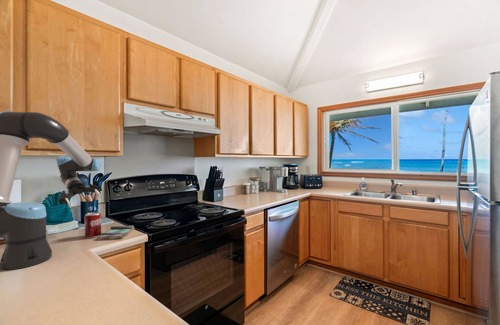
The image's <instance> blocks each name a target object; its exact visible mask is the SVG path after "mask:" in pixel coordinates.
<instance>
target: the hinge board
mask: <svg viewBox="0 0 500 325" xmlns="http://www.w3.org/2000/svg"><path fill="white" fill-rule="evenodd" d="M134 229H135V226H134V225H116V226H114V225H112V226H110V229H109V230H107V231H106V232H101V233H100V235H99V236H98V237H95V239H96V241H107V240H109V241H111V240H122V239H124V238H125V237H126V236H127V235H129V234H130V233H131V232H132V231H134Z"/></svg>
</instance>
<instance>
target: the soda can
mask: <svg viewBox="0 0 500 325" xmlns="http://www.w3.org/2000/svg"><path fill="white" fill-rule="evenodd" d="M100 233H102V213H101V212H89V213H86V214H84V237H85V238H86V239H94V238H95V239H96V238H97V237H98V236H99V235H100Z"/></svg>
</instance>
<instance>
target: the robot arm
mask: <svg viewBox="0 0 500 325" xmlns="http://www.w3.org/2000/svg"><path fill="white" fill-rule="evenodd" d="M30 139H43V140H46V141H47V142H48V143H50V144H54V145H55V146H56V147H57V148H59V150H61V151H62V152H63V153H64V154H65V155H68V156H62V155H59V156H58V157H57V158H56V163H57V164H56V165H57V168H58V170H59V171H58V172H59V173H60V179H61V182H62V183H63V184H64V186H65V187H66V189H67V191H65V190H62V191H61V194H60V196H59V198H57V201H58V204H59V205H61V204H64V205H65V206H67V205H68V208H71V209H72V204H71V203H72V202H70V200H71V199H72V198H73V197H75V196H76V195H79V194H82V193H95V194H96V196H97V197H98V198H99V199H100V198H102V196H101V194H102V193H101V192H102V191H103V188H102V186H100V185H96V184H92V183H88V184H87V185H84V184H83V182H82V181H81V179H80V178H79V177H78V174H77V172H98V171H100V170H101V168H102V161H101V160H100V159H98V158H92V156H91V155H90V154H88V152H86V150H85V149H83V147H82V146H81V145H80V144H79V143H78V142H77V141H76V139H74V138H73V137H72V136H71V135H70V131H69V129H67V127H66V126H64V125H63V124H62V123H61V122H60V121H59V120H56V118H54V117H52V116H49V115H47V114H45V113H41V112H39V111H38V112H36V111H11V110H6V111H0V238H1V237H4V238H5V241H6V242H5V248H4V251H3V253H2V254H1V259H0V269H1V270H6V271H10V270H11V271H12V270H19V269H24V268H28V267H32V266H36V265H39V264H43V263H44V262H46V261H48V260H49V259H51V258H52V257H53V250H52V248H51V245H50V243H49V241H48V239H47V215H48V214H47V211H46V209H47V208H46V206H45V205H44V204H43V203H41V202H35V201H34V202H31V201H26V202H23V201H22V202H21V201H19V202H12V201H11V200H10V197H11V192H12V189H13V185H14V181H15V178H16V175H17V171H18V167H19V166H18V165H19V162H20V159H21V155H22V152H23V147H25V146H28V145H29V144H30V143H29V142H30Z"/></svg>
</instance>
